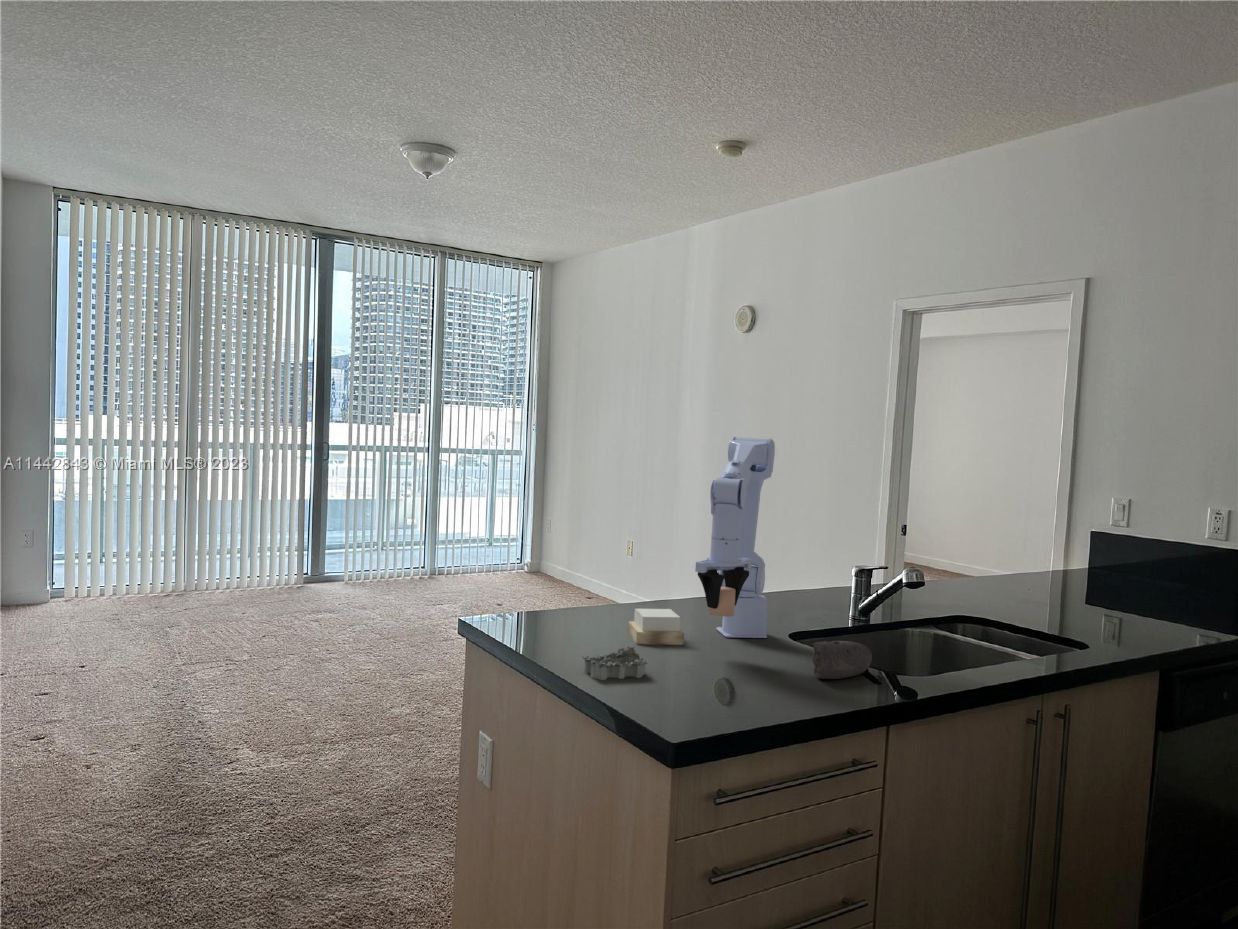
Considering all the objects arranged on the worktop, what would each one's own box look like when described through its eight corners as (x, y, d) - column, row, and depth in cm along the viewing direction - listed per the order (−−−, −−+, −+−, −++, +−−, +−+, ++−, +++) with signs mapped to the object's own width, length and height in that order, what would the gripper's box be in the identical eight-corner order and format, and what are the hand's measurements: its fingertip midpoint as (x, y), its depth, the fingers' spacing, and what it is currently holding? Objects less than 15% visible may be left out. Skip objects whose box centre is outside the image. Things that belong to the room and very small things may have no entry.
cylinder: (730, 611, 167) (732, 586, 167) (736, 617, 162) (738, 591, 162) (706, 610, 166) (707, 586, 166) (712, 616, 161) (713, 590, 161)
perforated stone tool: (860, 669, 160) (862, 634, 159) (881, 677, 155) (883, 640, 155) (801, 677, 152) (803, 639, 152) (820, 685, 148) (823, 646, 148)
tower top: (669, 622, 180) (670, 609, 180) (679, 631, 173) (680, 617, 172) (634, 622, 179) (634, 608, 179) (642, 631, 171) (643, 616, 171)
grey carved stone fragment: (634, 667, 153) (636, 646, 153) (649, 679, 146) (651, 656, 146) (579, 670, 150) (581, 647, 149) (592, 682, 142) (593, 658, 142)
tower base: (672, 635, 181) (673, 622, 181) (683, 647, 171) (684, 633, 171) (627, 634, 180) (628, 621, 180) (636, 646, 170) (636, 632, 170)
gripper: (734, 534, 171) (730, 599, 172) (685, 537, 162) (681, 605, 162) (761, 538, 166) (757, 605, 166) (712, 541, 156) (708, 612, 157)
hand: (721, 606), depth 164 cm, fingers closed on cylinder, 5 cm apart
